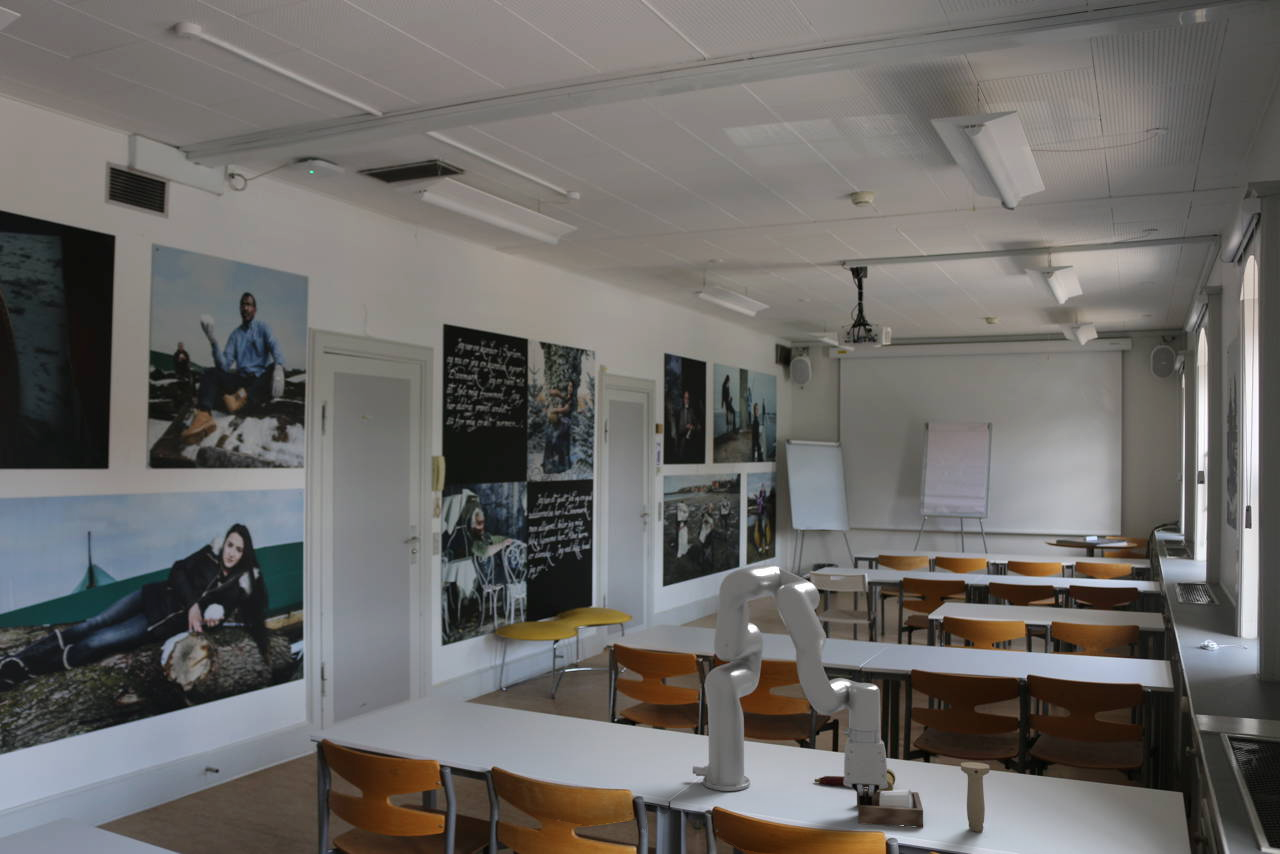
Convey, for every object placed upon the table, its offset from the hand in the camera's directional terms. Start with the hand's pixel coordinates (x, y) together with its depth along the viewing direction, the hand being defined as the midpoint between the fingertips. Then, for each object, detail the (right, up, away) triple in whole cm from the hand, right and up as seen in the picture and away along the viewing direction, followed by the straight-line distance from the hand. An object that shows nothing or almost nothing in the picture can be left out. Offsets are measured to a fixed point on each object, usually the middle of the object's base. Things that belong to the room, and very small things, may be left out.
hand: (865, 810), depth 245 cm
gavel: (+2, -2, +21) cm, 21 cm away
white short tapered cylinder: (+4, +2, 0) cm, 4 cm away
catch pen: (+5, -1, -1) cm, 5 cm away
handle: (+23, -1, -11) cm, 26 cm away
